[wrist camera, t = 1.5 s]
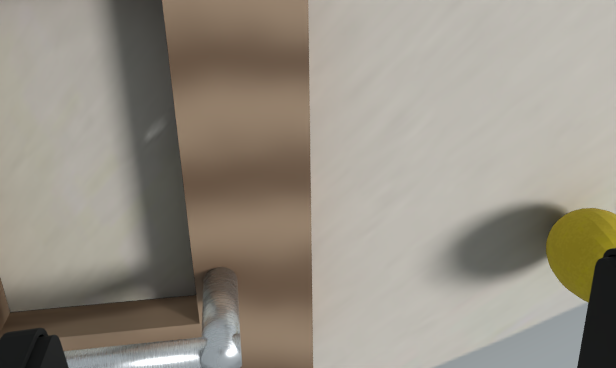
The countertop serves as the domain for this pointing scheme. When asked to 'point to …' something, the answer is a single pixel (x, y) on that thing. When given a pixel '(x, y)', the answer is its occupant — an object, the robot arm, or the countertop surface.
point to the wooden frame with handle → (228, 186)
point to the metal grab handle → (184, 352)
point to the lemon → (580, 247)
